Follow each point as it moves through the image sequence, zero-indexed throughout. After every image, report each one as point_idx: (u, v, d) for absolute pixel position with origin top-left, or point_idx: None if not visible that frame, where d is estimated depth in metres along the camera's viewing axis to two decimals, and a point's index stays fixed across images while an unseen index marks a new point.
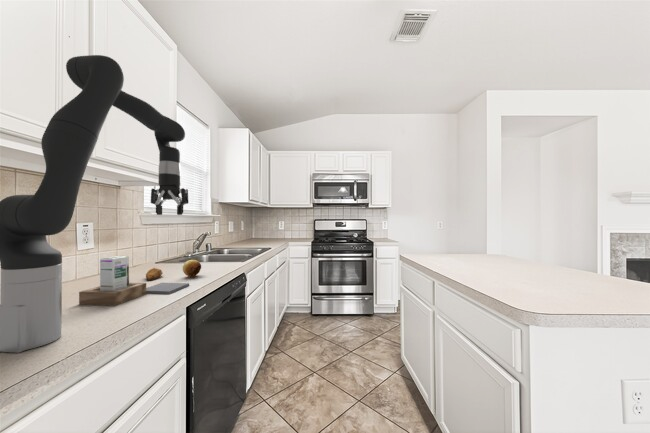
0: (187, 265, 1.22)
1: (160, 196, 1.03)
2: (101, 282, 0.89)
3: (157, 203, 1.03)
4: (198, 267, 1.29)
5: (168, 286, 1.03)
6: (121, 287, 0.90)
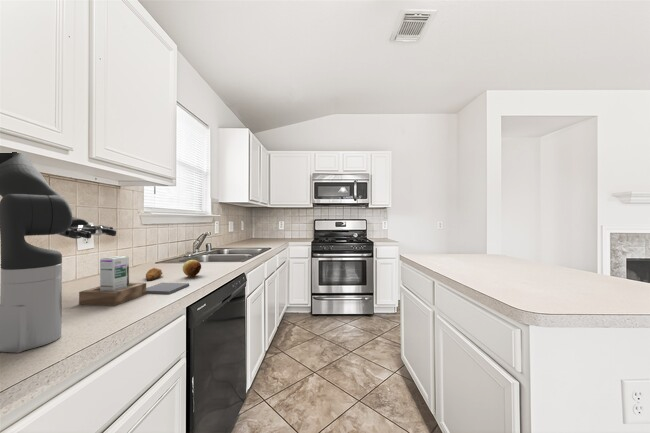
0: (187, 265, 1.22)
1: (80, 226, 0.93)
2: (101, 282, 0.89)
3: (80, 229, 0.91)
4: (198, 267, 1.29)
5: (168, 286, 1.03)
6: (121, 287, 0.90)
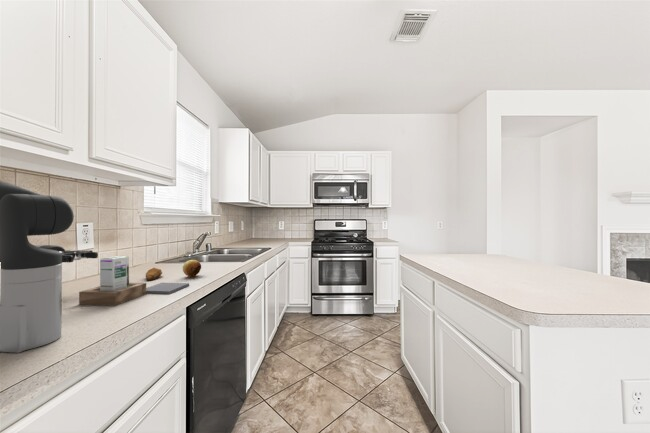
0: (187, 265, 1.22)
1: None
2: (101, 282, 0.89)
3: None
4: (198, 267, 1.29)
5: (168, 286, 1.03)
6: (121, 287, 0.90)
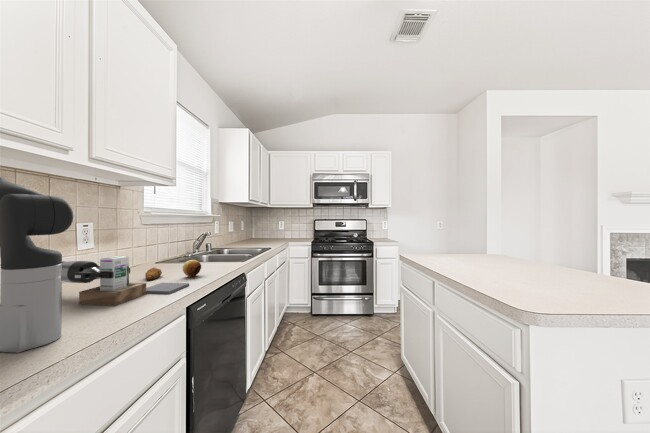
0: (187, 265, 1.22)
1: (95, 268, 0.89)
2: (101, 282, 0.89)
3: (100, 271, 0.88)
4: (198, 267, 1.29)
5: (168, 286, 1.03)
6: (121, 287, 0.90)
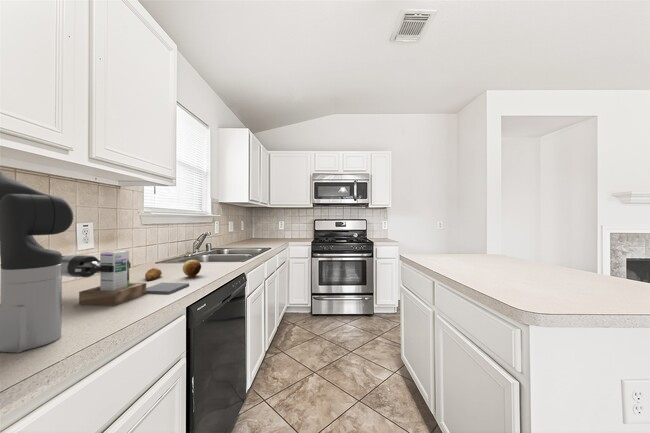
0: (187, 265, 1.22)
1: (95, 262, 0.89)
2: (101, 276, 0.88)
3: (100, 265, 0.88)
4: (198, 267, 1.29)
5: (168, 286, 1.03)
6: (121, 281, 0.90)
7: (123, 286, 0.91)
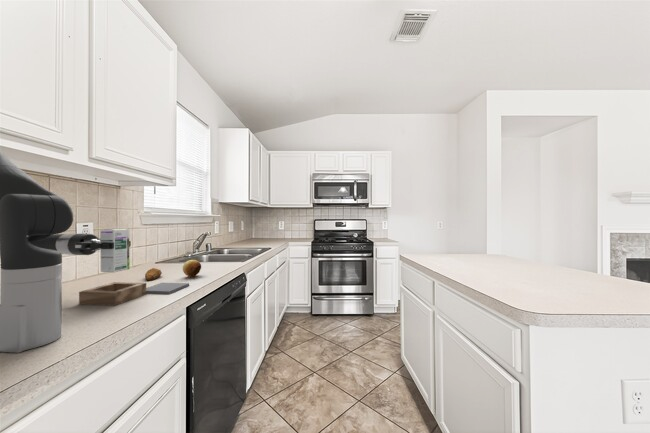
0: (187, 265, 1.22)
1: (95, 240, 0.89)
2: (101, 253, 0.89)
3: (100, 242, 0.88)
4: (198, 267, 1.29)
5: (168, 286, 1.03)
6: (122, 259, 0.90)
7: (123, 264, 0.91)
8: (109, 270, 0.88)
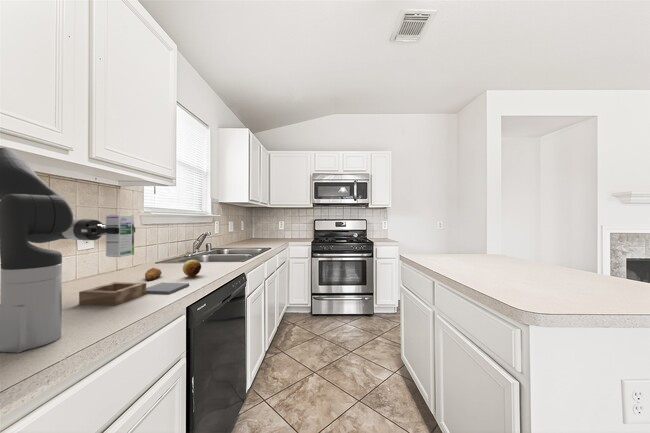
0: (187, 265, 1.22)
1: (101, 225, 0.90)
2: (107, 238, 0.90)
3: (106, 227, 0.89)
4: (198, 267, 1.29)
5: (168, 286, 1.03)
6: (126, 244, 0.92)
7: (128, 249, 0.92)
8: (114, 255, 0.89)
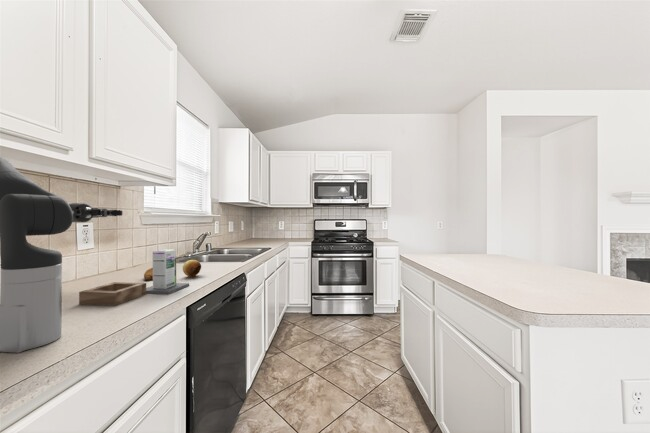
0: (187, 265, 1.22)
1: (88, 208, 0.99)
2: (154, 272, 1.00)
3: (90, 209, 0.97)
4: (198, 267, 1.29)
5: None
6: (171, 276, 1.02)
7: (172, 281, 1.02)
8: (161, 287, 1.00)
